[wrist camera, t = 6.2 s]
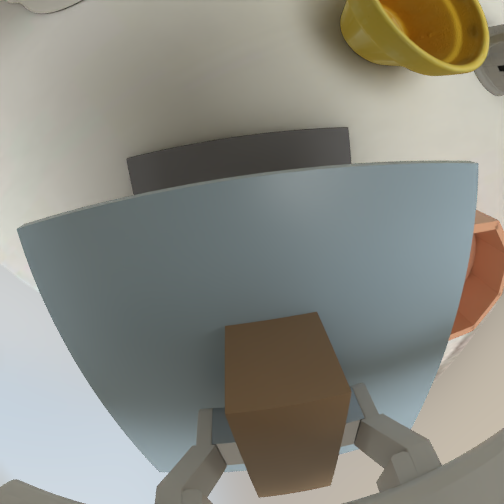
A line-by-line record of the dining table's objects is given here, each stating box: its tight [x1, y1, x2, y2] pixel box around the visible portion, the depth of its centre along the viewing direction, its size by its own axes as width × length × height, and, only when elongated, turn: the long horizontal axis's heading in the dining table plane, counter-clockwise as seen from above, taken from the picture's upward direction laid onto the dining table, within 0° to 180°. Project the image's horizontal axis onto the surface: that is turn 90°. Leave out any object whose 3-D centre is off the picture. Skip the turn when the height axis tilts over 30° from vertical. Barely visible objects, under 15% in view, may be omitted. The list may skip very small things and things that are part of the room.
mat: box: [127, 127, 351, 195], centre depth 25 cm, size 18×18×1 cm
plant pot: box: [340, 0, 489, 76], centre depth 14 cm, size 10×10×10 cm
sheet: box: [17, 161, 478, 497], centre depth 9 cm, size 16×16×4 cm
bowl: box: [448, 210, 504, 341], centre depth 25 cm, size 13×13×6 cm
